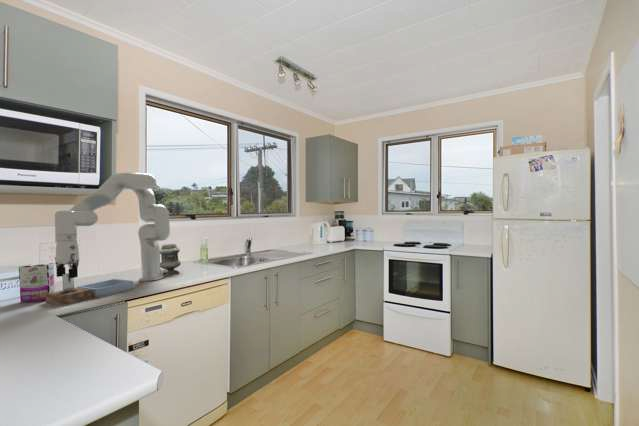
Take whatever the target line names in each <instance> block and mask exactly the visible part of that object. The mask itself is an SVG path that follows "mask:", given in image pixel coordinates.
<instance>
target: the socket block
mask: <svg viewBox="0 0 639 426" xmlns="http://www.w3.org/2000/svg"><path fill="white" fill-rule="evenodd" d="M74 291H75V292H71V293H67V294H63V289H61V290H58V291H55V292H52V293H48V294H46V301H45V303H46V304H50V305H54V306H60V307H63V306H66V305H69V304H75V303H78V302H81V301H86V300H90V299H92V298H93V297H92V296H91V289H84V288H77V286H76V287H74Z"/></svg>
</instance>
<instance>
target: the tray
mask: <svg viewBox="0 0 639 426" xmlns="http://www.w3.org/2000/svg"><path fill="white" fill-rule="evenodd" d="M76 287H77V288H84V289H91V296H92V298H94V299H98V298H102V297H106V296H110V295H115V294H119V293H123V292H126V291H131V290H134V288H135V287H134V280H130V279H121V278H120V279H119V278H112V279H107V280H102V281H101V280H100V281H98V282H93V283H91V282H90V283H88V284H83V285H78V286H76Z"/></svg>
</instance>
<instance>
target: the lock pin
mask: <svg viewBox="0 0 639 426" xmlns="http://www.w3.org/2000/svg"><path fill="white" fill-rule="evenodd" d="M61 277H62V290H63V294H67V293H71V292H75V291H74V288H75V278H69V272H68V273H66V272H65V274H62V276H61Z"/></svg>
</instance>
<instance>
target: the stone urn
mask: <svg viewBox="0 0 639 426" xmlns="http://www.w3.org/2000/svg"><path fill="white" fill-rule="evenodd" d="M179 252H180V247H178V245H177V243H167V244H166V243H165V244H162V245H161V248H160V269H162V270H166V269H167V270H168V272H167V273H163V274H162V275H163V276H167V275H174V274H175V275H176V274H178V273H179V272H180V271H179V270H177V269H176V268H178V267H180V265H181V264H182V263H181V261H180V260H179Z"/></svg>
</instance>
